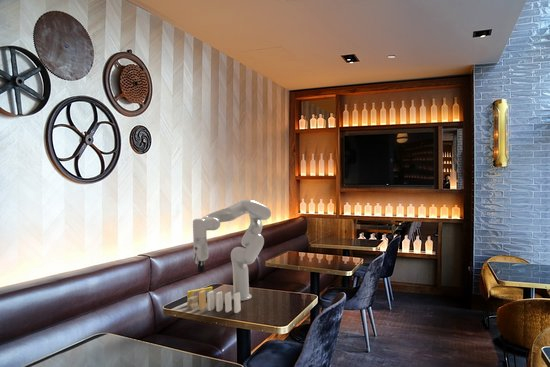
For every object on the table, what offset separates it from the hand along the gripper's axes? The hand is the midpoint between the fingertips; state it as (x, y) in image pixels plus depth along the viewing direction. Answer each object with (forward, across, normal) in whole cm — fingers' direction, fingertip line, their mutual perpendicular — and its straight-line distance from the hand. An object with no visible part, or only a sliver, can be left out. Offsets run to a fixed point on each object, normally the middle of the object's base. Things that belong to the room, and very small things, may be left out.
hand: (201, 272), depth 226 cm
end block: (+21, 0, +6) cm, 22 cm away
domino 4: (+21, 0, -16) cm, 27 cm away
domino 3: (+21, 0, -11) cm, 24 cm away
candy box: (+22, +10, +7) cm, 25 cm away
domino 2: (+21, 0, -6) cm, 22 cm away
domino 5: (+21, 0, -22) cm, 30 cm away
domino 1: (+21, 0, 0) cm, 21 cm away
